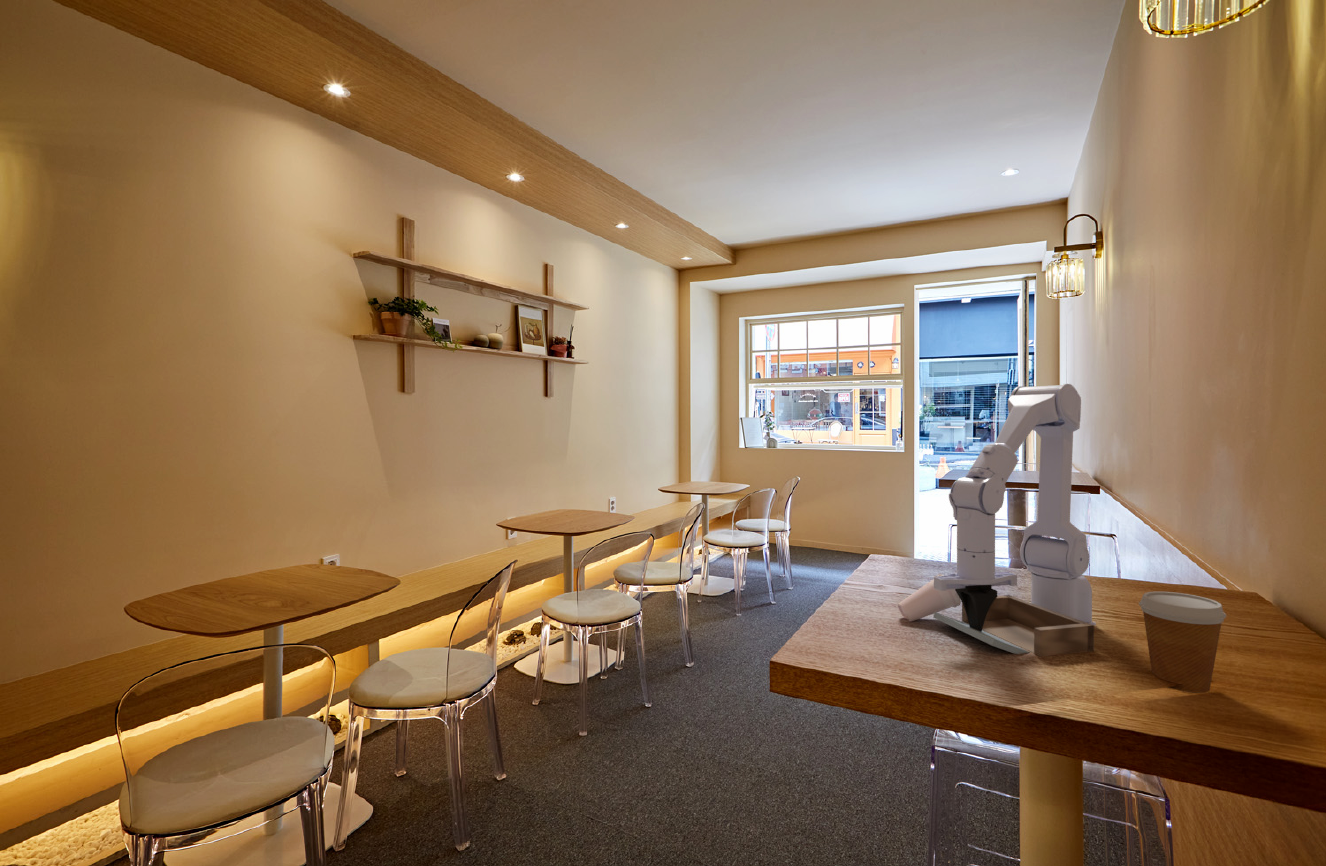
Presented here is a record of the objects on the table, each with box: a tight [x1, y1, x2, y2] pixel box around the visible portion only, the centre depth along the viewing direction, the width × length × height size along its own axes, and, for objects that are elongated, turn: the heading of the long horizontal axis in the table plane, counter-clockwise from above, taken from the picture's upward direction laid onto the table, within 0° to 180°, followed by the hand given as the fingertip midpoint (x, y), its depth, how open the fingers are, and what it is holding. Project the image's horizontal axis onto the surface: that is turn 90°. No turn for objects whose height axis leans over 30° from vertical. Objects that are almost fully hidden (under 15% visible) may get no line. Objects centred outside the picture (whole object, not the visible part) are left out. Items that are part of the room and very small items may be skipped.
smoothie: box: [897, 573, 962, 622], centre depth 115 cm, size 6×6×14 cm
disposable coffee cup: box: [1138, 591, 1227, 694], centre depth 88 cm, size 10×10×12 cm
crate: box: [961, 594, 1095, 657], centre depth 106 cm, size 10×18×5 cm, turn 12°
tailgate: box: [933, 612, 1031, 655], centre depth 104 cm, size 1×14×7 cm
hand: (975, 630), depth 104 cm, fingers closed, pressing on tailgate
